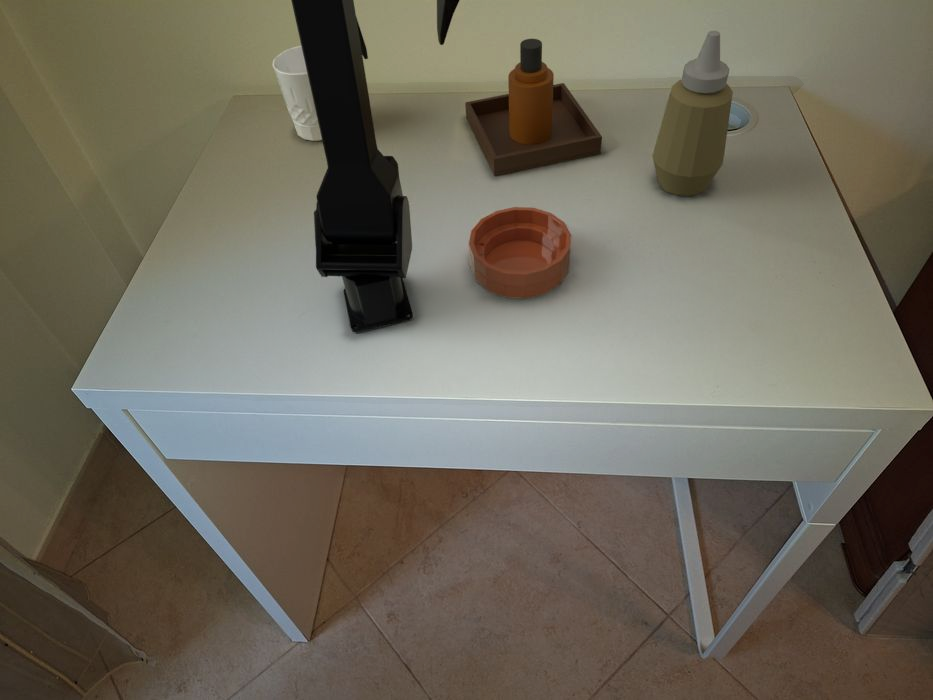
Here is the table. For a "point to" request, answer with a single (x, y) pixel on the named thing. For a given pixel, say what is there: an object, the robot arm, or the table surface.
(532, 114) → the bottle
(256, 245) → the table surface
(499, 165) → the tray
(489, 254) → the bowl
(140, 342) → the table surface
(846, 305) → the table surface
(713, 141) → the squeeze bottle
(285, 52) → the white cup
